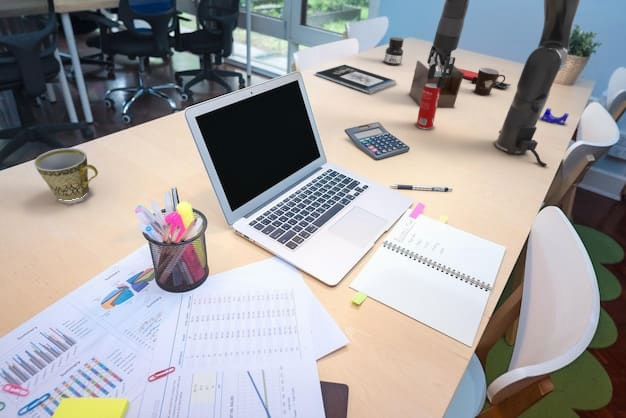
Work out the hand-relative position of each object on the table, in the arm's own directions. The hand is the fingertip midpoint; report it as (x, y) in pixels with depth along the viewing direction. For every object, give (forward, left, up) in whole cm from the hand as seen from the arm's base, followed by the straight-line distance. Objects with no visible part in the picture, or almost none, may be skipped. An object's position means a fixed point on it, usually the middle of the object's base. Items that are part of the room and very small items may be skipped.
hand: (434, 83), depth 132 cm
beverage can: (0, 0, -16) cm, 16 cm away
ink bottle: (+76, -12, -16) cm, 78 cm away
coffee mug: (+35, -43, -16) cm, 58 cm away
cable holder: (+6, -57, -16) cm, 59 cm away
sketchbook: (+48, +14, -16) cm, 52 cm away
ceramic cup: (-42, +102, -16) cm, 111 cm away
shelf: (+25, -13, -16) cm, 32 cm away
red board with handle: (+54, -49, -16) cm, 74 cm away
